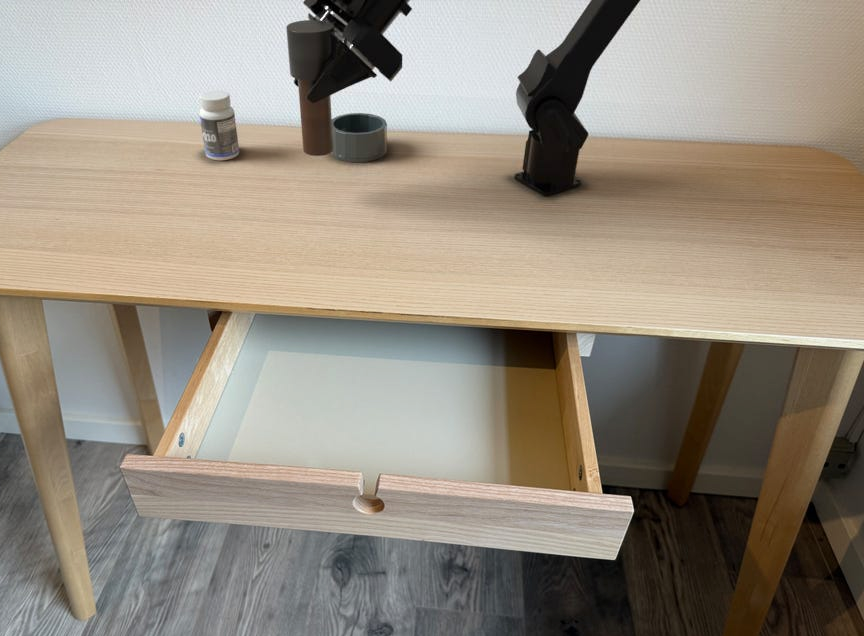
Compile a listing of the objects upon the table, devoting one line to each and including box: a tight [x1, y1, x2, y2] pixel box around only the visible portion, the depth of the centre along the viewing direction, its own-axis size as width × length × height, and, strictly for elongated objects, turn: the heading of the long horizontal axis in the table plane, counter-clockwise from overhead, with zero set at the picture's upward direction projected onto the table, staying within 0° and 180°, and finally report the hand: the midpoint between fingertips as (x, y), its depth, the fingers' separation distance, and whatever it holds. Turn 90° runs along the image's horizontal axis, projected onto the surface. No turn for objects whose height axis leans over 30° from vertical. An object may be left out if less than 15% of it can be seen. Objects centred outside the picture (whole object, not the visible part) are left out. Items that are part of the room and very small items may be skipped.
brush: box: [285, 19, 335, 157], centre depth 82 cm, size 5×5×14 cm
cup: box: [330, 112, 388, 163], centre depth 101 cm, size 8×8×4 cm
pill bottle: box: [198, 89, 240, 161], centre depth 98 cm, size 5×5×8 cm
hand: (302, 92), depth 81 cm, fingers closed on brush, 5 cm apart
